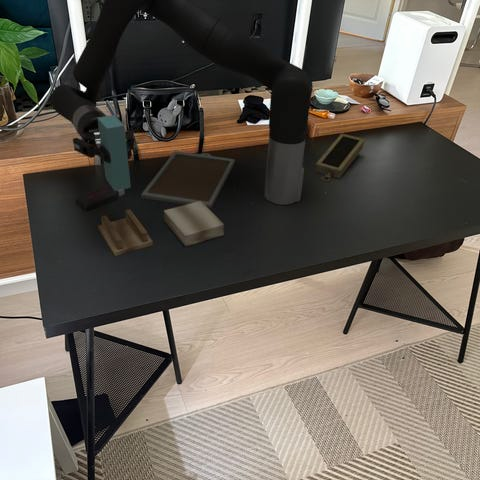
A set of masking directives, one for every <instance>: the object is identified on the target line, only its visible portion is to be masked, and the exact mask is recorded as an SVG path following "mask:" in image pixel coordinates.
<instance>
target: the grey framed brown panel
mask: <svg viewBox="0 0 480 480" xmlns="http://www.w3.org/2000/svg"><path fill="white" fill-rule="evenodd" d="M235 163H236V160H235V159H234V158H228V157H227V158H226V157H221V156H215V155H211V154H210V153H208V152H207V153H206V152H203V153H191V152H185V151H184V152H183V151H176V150H175V151H173V153H172V154H171V155H170V156H169V158H168V159H167V161H166V162H165V163H164V164H163V166H162V167H161V168H160V169H159V171H158V172H157V173H156V175H155V176H154V177H153V179H151V181H150V182H149V183H148V185H147V186H146V188H145V189H143V191H142V193H141V195H140V196H141V199H147V200H152V201H161V202H167V203H173V204H180V205H187V204H191V203H194V202H198V201H201V202H202V203H203V204H204V205H205V206H206V207H207V208H208V209H212V208H213V206H214V204H215V202H216V200H217V198H218V197H219V194H220V192H221V190H222V188H223V187H224V185H225V183H226V181H227V179H228V177H229V175H230V173H231V170H232V169H233V167H234V165H235Z"/></svg>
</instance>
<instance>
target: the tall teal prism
mask: <svg viewBox="0 0 480 480" xmlns="http://www.w3.org/2000/svg"><path fill="white" fill-rule="evenodd" d="M98 126H99V133H100V140H101V143H102V145H103V147H105V148H106V149H107V151H108V152H109V153H110V157H111V163H107V162H104V161H103V160H102V161H103V167H104V174H105V180H106V181H107V183H108V184H109V185H111V186H112V188H113V189H114V191H118V190H122V189H124V190H126V189H129V188H131V187H132V186H131V177H130V176H131V175H130V169H129V168H130V167H129V159H128V156H127V146H126V137H125V132H126V129H125V125H124V124H123V122H122V121H121V120H120V119H119V118H118V117H117V116H116V115H115V114H111V115H106V116H105V117H99V118H98Z"/></svg>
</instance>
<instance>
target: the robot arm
mask: <svg viewBox="0 0 480 480" xmlns="http://www.w3.org/2000/svg"><path fill="white" fill-rule="evenodd" d="M139 11H141V12H143V13H144V14H147V15H149V16H150V17H153V18H155V19H157V20H158V21H160V22H162V23H163V24H165V25H166V26H168V27H169V28H170V29H171V30H172V31H173V32H175V33H176V35H178V37H180V39H181V40H183V42H184V43H186V45H187V46H188V47H190V48H191V49H192V50H193V51H195V52H196V53H197V54H199V55H201V56H202V57H203V58H205V59H207V60H208V61H210V62H211V63H213V64H214V65H216V66H218V67H220V68H222V69H225V70H229V71H232V72H234V73H237V74H241V75H244V76H246V77H250V78H251V79H254V80H255V81H257V82H259V83H260V84H261V85H263V86H264V87H266V89H268V90H270V91H271V92H270V102H269V115H268V117H269V118H268V128H269V133H268V146H267V156H266V157H267V158H266V159H267V160H266V172H265V182H264V183H265V184H264V198H265V199H266V200H267V201H268V202H270V203H271V204H275V205H281V206H282V205H284V206H285V205H292V204H294V203H297V202H301V197H302V191H303V189H302V188H303V182H304V174H305V167H304V166H303V163H304V156H305V149H306V141H307V133H308V122H309V115H310V107H311V97H312V94H313V88H314V86H313V80H312V79H311V76H310V75H309V74H308V73H307V72H306V71H305V70H304V69H303V68H301V67H299V66H297V65H295V64H294V63H291V62H289V61H287V60H285V59H283V58H282V57H279V56H277V55H275V54H273V53H272V52H270V51H268V50H267V49H266V48H264V47H263V46H261V45H260V44H259V43H258V42H256V41H255V40H254V39H252V38H251V37H249V36H248V35H246V34H245V33H243V32H242V31H241V30H239V29H238V28H236V27H235V26H234V25H232V24H231V23H229V22H227V21H226V20H225V19H223V18H222V17H220V16H219V15H217V14H215V13H213V12H211V11H210V10H208V9H206V8H205V7H203V6H202V5H200V4H198V3H196V2H194V1H192V0H104V1H103V4H102V5H101V9H100V12H99V15H98V17H97V20H96V23H95V25H94V28H93V29H92V32H91V33H90V37H89V39H88V41H87V42H86V44H85V46H84V49H83V50H82V52H81V54H80V56H79V58H78V60H77V62H76V64H75V66H74V69H73V71H72V76H73V78H74V80H75V81H76V82H78V84H80V85H81V86H83V87H84V88H85V90H84V91H83V90H81V89H79V88H76V87H74V86H71V85H69V84H65V83H64V84H59V85H57V86H56V87H55V88H54V90H53V91H52V93H51V95H50V102H51V105H52V108H53V109H54V111H55V112H56V113H57V114H58V115H59V116H61V117H62V118H64V119H65V120H67V121H69V122H70V123H71V124H72V125H73V127H74V129H75V132H76V133H77V135H79V137H80V138H81V139H80V138H78V137H73V138H72V144H73V149H74V151H75V152H77V153H79V154H81V155H84V156H85V157H88V158H91V159H92V158H94V157H95V156H98V158H100V159H101V161H104V162H107V163H111V157H110V153H109V152H108V151H107V149H106V148H105V147H103V145H102V143H101V140H100V133H99V126H98V118H99V117H105V116H107V115H106V114H105V113H104V112H103V111H102V110H101V109H99V107H98V106H97V103H98V98H99V97H98V96H99V93H100V90H101V86H102V84H103V82H104V80H105V78H106V76H107V75H108V72H109V70H110V69H111V67H112V65H113V63H114V60H115V57H116V55H117V52H118V47H119V45H120V42H121V38H122V37H123V34H124V32H125V31H126V28H127V27H128V26H129V23H130V22H131V21H132V20H133V18H134V17H135V16H136V14H137V13H138V12H139ZM125 137H126V146H127V156H128V160H131V157H132V156H133V153H132V151H133V150H134V149H135V134H134V128H132V127H131V128H127V130H125ZM104 162H103V163H104Z"/></svg>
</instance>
